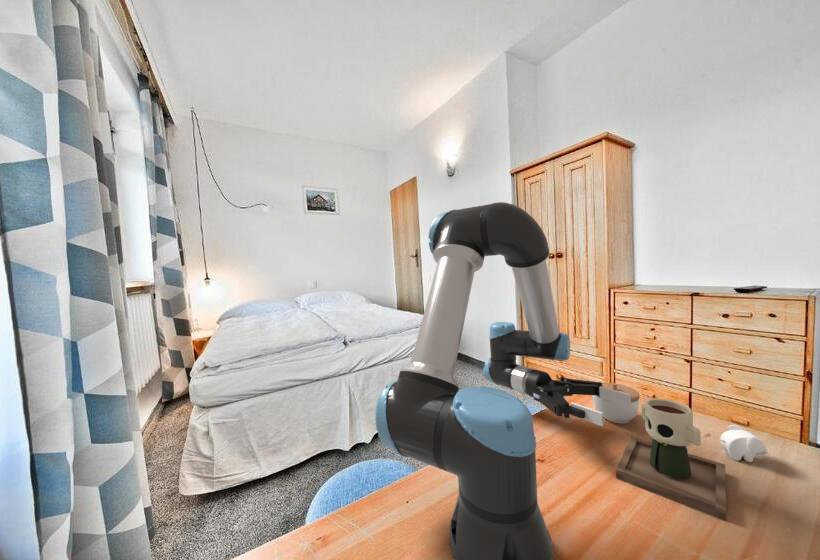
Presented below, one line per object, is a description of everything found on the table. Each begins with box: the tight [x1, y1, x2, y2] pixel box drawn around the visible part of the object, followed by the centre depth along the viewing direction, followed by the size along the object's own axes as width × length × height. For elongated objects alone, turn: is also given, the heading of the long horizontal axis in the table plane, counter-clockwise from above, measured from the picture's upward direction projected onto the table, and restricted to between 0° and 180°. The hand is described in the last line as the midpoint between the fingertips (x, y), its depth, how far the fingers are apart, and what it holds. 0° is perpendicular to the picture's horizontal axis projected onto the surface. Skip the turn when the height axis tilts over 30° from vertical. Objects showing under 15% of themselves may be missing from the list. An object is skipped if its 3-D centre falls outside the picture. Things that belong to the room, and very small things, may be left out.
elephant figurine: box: [716, 424, 770, 463], centre depth 63 cm, size 7×8×6 cm
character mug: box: [640, 398, 702, 478], centre depth 59 cm, size 11×7×13 cm, turn 10°
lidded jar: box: [591, 382, 640, 424], centre depth 81 cm, size 11×11×9 cm
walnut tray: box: [615, 436, 727, 522], centre depth 59 cm, size 15×15×2 cm
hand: (617, 409), depth 66 cm, fingers open, 13 cm apart
